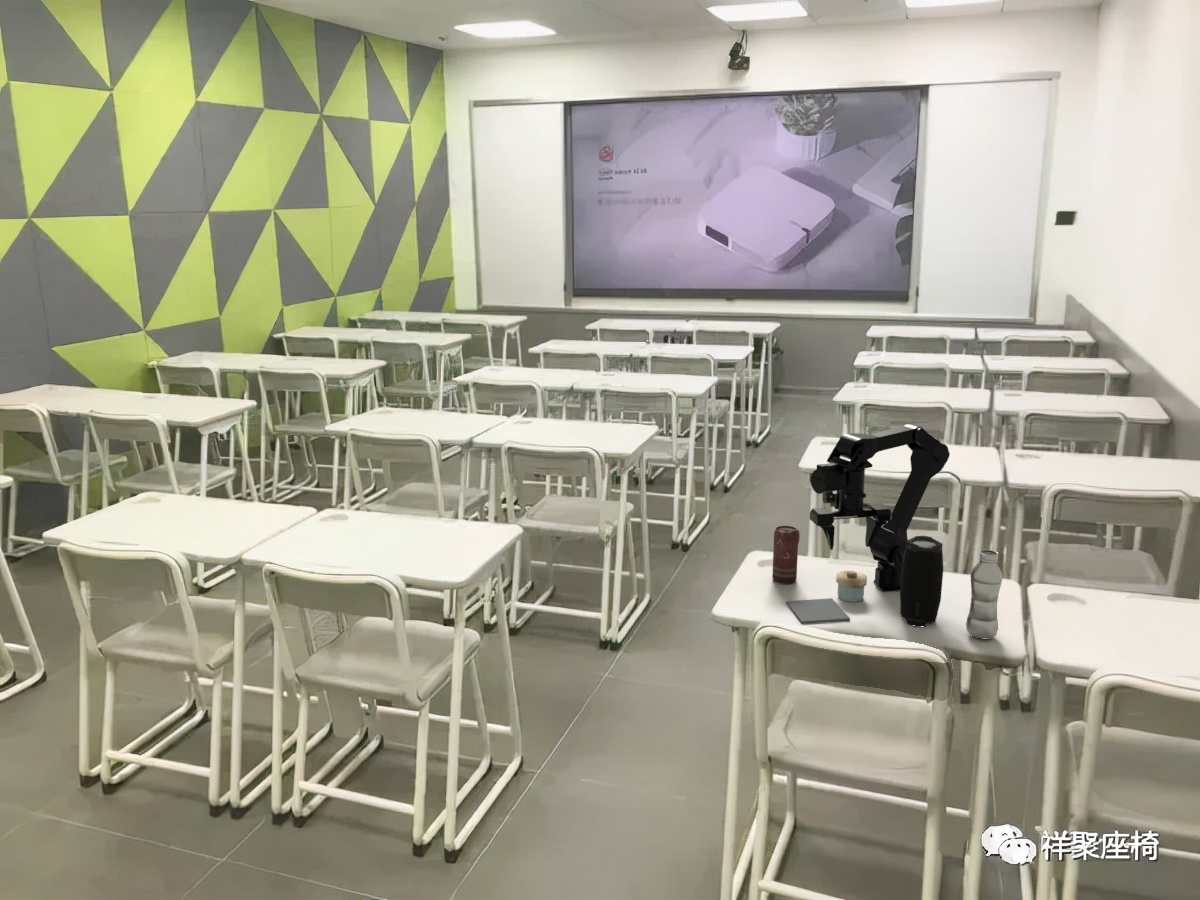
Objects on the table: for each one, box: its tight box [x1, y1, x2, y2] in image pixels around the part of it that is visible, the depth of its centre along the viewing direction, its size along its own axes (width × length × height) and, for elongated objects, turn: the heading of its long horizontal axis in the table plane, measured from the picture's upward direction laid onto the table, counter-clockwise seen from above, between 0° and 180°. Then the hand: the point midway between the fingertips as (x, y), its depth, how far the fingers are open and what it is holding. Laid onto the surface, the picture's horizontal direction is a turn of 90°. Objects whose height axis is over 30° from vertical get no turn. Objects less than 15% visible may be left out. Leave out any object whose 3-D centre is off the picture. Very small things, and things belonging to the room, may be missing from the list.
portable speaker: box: [899, 535, 944, 627], centre depth 217 cm, size 9×9×20 cm
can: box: [771, 525, 801, 585], centre depth 242 cm, size 6×6×14 cm
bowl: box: [837, 583, 865, 603], centre depth 232 cm, size 6×6×4 cm
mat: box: [785, 597, 851, 625], centre depth 225 cm, size 12×12×1 cm
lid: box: [836, 570, 868, 588], centre depth 231 cm, size 7×7×2 cm
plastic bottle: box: [965, 549, 1004, 640], centre depth 209 cm, size 6×7×20 cm
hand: (849, 547), depth 230 cm, fingers open, 9 cm apart
